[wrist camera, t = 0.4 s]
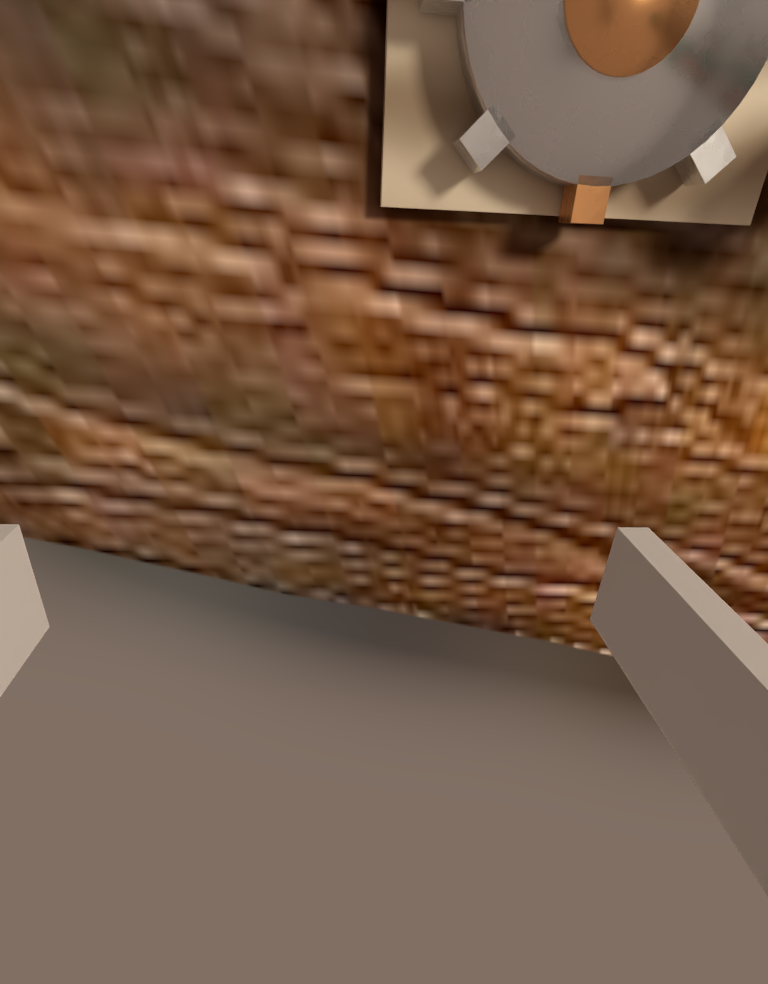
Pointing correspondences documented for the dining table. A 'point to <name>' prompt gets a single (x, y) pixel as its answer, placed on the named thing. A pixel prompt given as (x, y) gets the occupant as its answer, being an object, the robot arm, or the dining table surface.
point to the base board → (502, 183)
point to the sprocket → (605, 88)
